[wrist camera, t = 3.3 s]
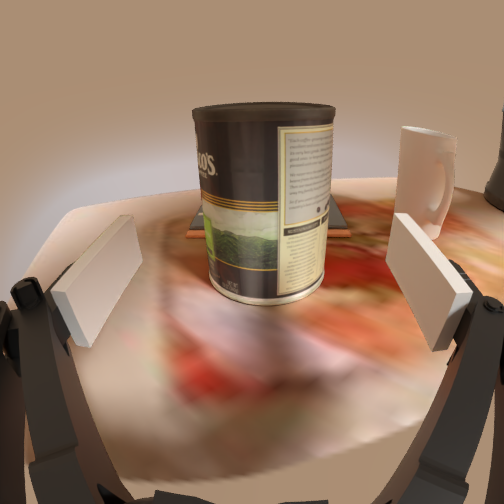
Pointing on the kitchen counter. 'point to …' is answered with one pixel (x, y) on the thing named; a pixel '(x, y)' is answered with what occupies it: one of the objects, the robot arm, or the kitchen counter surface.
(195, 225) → the mat
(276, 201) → the coffee can
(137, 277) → the kitchen counter surface
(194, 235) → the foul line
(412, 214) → the mug
